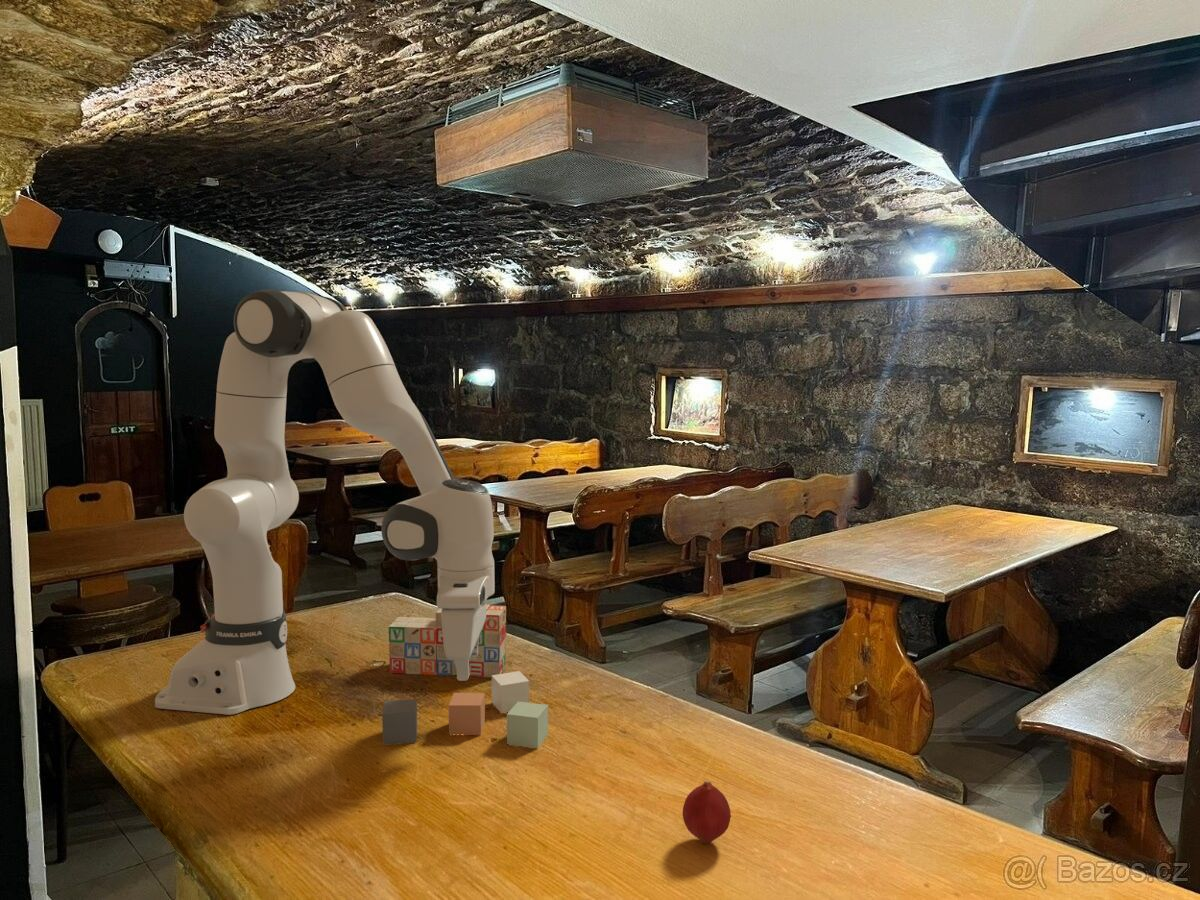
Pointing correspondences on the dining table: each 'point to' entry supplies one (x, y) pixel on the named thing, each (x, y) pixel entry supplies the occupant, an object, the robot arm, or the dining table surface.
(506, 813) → the dining table surface
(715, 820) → the onion
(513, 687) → the off-white cube
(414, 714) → the charcoal cube
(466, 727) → the terracotta cube
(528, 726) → the sage green cube
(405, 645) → the stack of blocks
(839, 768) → the dining table surface
